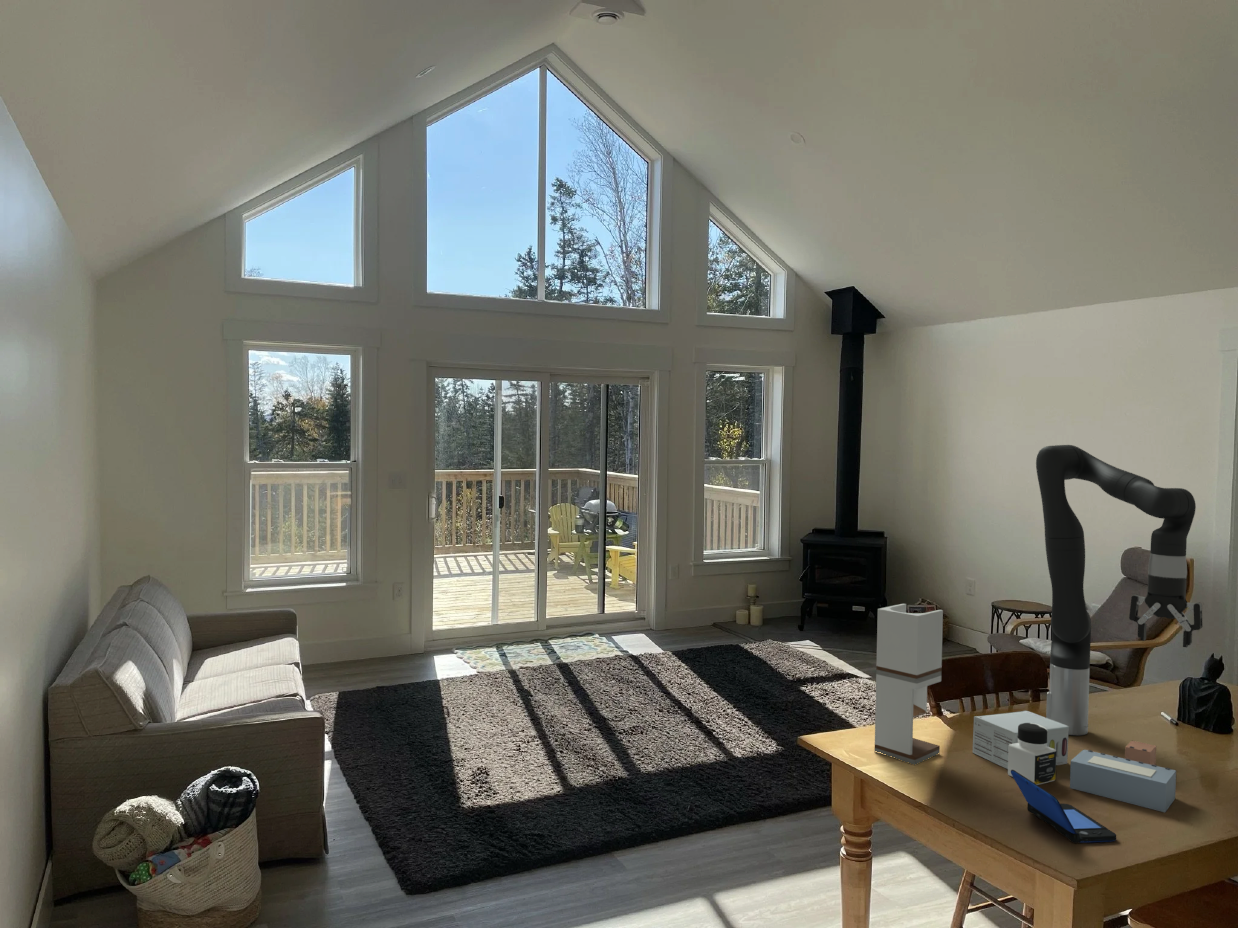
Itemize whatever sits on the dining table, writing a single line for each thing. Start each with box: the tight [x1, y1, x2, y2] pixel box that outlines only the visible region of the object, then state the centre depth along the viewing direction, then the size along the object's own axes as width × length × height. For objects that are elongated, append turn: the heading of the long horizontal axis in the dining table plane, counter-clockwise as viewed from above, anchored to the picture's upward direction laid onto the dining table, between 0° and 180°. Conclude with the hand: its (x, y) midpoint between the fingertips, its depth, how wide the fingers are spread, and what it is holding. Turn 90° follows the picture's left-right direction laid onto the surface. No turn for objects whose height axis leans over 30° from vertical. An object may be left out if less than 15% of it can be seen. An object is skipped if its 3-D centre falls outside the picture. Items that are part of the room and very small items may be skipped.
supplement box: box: [972, 710, 1069, 770], centre depth 208 cm, size 17×13×9 cm
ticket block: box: [1069, 749, 1177, 813], centre depth 188 cm, size 18×10×6 cm, turn 47°
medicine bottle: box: [1007, 723, 1057, 786], centre depth 196 cm, size 7×7×12 cm
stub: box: [1124, 740, 1157, 765], centre depth 200 cm, size 5×6×6 cm
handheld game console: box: [1011, 770, 1117, 844], centre depth 172 cm, size 16×13×9 cm
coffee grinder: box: [874, 603, 944, 766], centre depth 210 cm, size 11×11×35 cm
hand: (1164, 643), depth 202 cm, fingers open, 8 cm apart
